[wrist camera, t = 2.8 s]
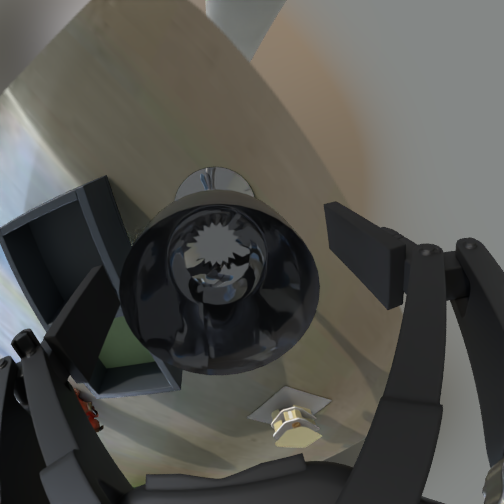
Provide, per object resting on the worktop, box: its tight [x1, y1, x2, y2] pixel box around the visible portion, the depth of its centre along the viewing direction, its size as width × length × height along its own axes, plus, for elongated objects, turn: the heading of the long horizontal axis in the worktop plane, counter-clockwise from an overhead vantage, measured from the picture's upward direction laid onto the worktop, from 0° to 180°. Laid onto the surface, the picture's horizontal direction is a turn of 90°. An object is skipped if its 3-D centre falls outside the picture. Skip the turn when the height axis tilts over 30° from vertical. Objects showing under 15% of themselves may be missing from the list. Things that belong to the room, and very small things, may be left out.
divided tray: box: [0, 175, 182, 399], centre depth 24 cm, size 11×21×5 cm, turn 13°
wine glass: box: [119, 167, 320, 375], centre depth 17 cm, size 8×8×15 cm
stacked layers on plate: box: [247, 386, 332, 448], centre depth 35 cm, size 10×9×6 cm
